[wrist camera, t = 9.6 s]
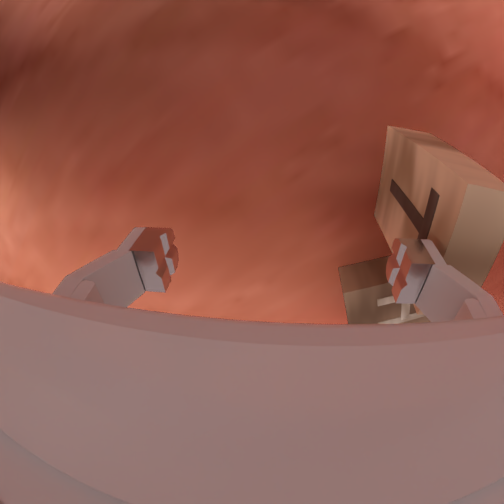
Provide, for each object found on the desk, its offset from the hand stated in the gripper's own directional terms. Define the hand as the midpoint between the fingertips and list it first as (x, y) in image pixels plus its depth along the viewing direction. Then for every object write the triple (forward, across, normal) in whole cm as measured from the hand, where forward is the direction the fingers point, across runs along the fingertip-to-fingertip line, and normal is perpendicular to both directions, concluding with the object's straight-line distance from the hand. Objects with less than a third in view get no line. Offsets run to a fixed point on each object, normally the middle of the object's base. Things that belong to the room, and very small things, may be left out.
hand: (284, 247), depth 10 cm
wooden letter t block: (+8, -7, 0) cm, 11 cm away
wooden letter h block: (+6, -5, +10) cm, 13 cm away
